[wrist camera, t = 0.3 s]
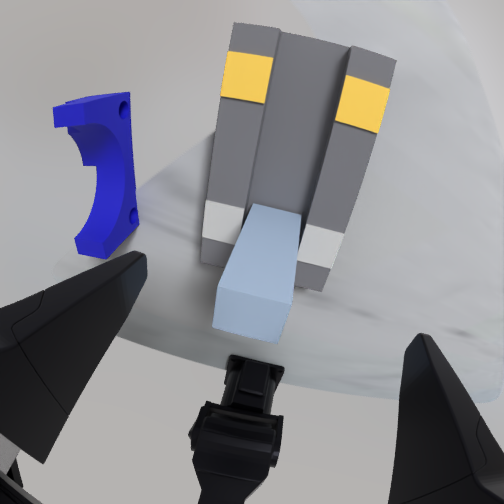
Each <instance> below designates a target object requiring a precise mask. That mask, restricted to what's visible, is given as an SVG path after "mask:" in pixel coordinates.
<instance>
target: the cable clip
mask: <svg viewBox="0 0 504 504" xmlns="http://www.w3.org/2000/svg"><path fill="white" fill-rule="evenodd" d="M53 116H54V127H55V128H57V127H67V128H68V134H69V135H70V136H71V137H72V138H73V139H74V141H75V142H76V144H77V146H78V148H79V151H80V153H81V156H82V161H83V166H96V170H97V186H96V193H95V199H94V203H93V207H92V210H91V213H90V215H89V218H88V220H87V222H86V224H85V225H84V227H83V228H82V230H81V231H80V233H79V234H78V235H77V236H76V237H75V238H74V239H75V243H76V247H77V251H78V254H82V255H86V256H91V257H96V258H102V259H107V258H108V257H109V256H110V255H111V254H112V253H113V252H114V251H115V250H116V248H117V247H118V246H119V245H120V244H121V243H122V242H123V241H124V240H125V239H126V238H127V237H128V236H129V235H130V234H131V233H132V232H133V230H134V229H135V228H136V227H137V226H138V225H139V218H138V210H137V202H136V193H135V191H136V181H135V170H134V159H133V144H132V128H131V101H130V92H122V93H112V94H103V95H95V96H88V97H84V98H80V99H76V100H72V101H68V102H66V104H63V105H60V106H56V107H53Z"/></svg>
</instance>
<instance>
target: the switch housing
mask: <svg viewBox="0 0 504 504" xmlns="http://www.w3.org/2000/svg"><path fill="white" fill-rule="evenodd" d="M395 64H396V60H394V59H392V58H389V57H386V56H383V55H381V54H378V53H375V52H372V51H369V50H365V49H362V48H359V47H356V46H351V47H350V48H349V47H346V46H342V45H339V44H335V43H331V42H327V41H323V40H319V39H315V38H310V37H305V36H301V35H296V34H291V33H285V32H282V31H281V30H280V29H279V28H273V27H267V26H260V25H252V24H244V23H234V25H233V30H232V35H231V40H230V46H229V51H228V53H227V58H226V64H225V69H224V75H223V81H222V87H221V93H220V96H221V98H220V105H219V111H218V118H217V125H216V131H215V138H214V146H213V153H212V160H211V168H210V176H209V184H208V192H207V200H206V203H205V212H204V221H203V231H202V237H203V238H202V248H201V258H200V262H203V263H207V264H211V265H215V266H219V267H222V268H225V267H226V265H227V263H228V260H229V258H230V256H231V253H232V251H233V249H234V247H235V244H236V242H237V240H238V237H239V235H240V233H241V230H242V228H243V226H244V223H245V221H246V219H247V217H248V214H249V212H250V210H251V207H252V205H253V203H254V204H259V205H263V206H267V207H271V208H275V209H279V210H283V211H287V212H291V213H295V214H299V215H301V224H300V235H299V245H298V254H297V264H296V273H295V282H294V285H295V286H299V287H303V288H307V289H311V290H315V291H320V292H322V290H323V287H324V285H325V282H326V280H327V277H328V275H329V272H330V270H331V269H332V266H333V264H334V261H335V259H336V256H337V253H338V251H339V248H340V245H341V243H342V240H343V237H344V233H345V230H346V227H347V224H348V222H349V219H350V216H351V213H352V210H353V208H354V205H355V202H356V199H357V196H358V193H359V190H360V187H361V184H362V181H363V178H364V175H365V172H366V168H367V165H368V162H369V159H370V156H371V153H372V149H373V146H374V143H375V139H376V136H377V133H378V132H379V128H380V125H381V121H382V118H383V114H384V111H385V107H386V103H387V99H388V96H389V92H390V85H391V81H392V77H393V73H394V68H395Z"/></svg>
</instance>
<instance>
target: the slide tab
mask: <svg viewBox="0 0 504 504" xmlns="http://www.w3.org/2000/svg"><path fill="white" fill-rule="evenodd" d="M300 224H301V215H299V214H295V213H291V212H287V211H283V210H279V209H275V208H271V207H267V206H263V205H259V204H254V203H253V205H252V207H251V210H250V212H249V214H248V217H247V219H246V221H245V223H244V226H243V228H242V230H241V233H240V235H239V237H238V240H237V242H236V244H235V247H234V249H233V251H232V253H231V256H230V258H229V260H228V263H227V265H226V267H225V270H224V272H223V275H222V277H221V279H220V282H219V284H218V287H217V294H216V301H215V309H214V317H213V324H212V328H215V329H219V330H223V331H227V332H230V333H234V334H238V335H242V336H246V337H250V338H254V339H258V340H262V341H266V342H270V343H275V344H278V341H279V338H280V336H281V333H282V330H283V328H284V325H285V322H286V319H287V317H288V314H289V311H290V308H291V305H292V299H293V290H294V282H295V273H296V264H297V254H298V245H299V235H300Z"/></svg>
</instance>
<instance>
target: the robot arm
mask: <svg viewBox="0 0 504 504" xmlns="http://www.w3.org/2000/svg"><path fill="white" fill-rule="evenodd" d="M146 279H147V258H146V255H145V254H144V253H141V252H138V251H132V252H129V253H127V254H124V255H122V256H120V257H117V258H115V259H113V260H110V261H108V262H106V263H103V264H101V265H99V266H96V267H94V268H92V269H89V270H87V271H85V272H82V273H80V274H78V275H76V276H73V277H71V278H69V279H67V280H64V281H62V282H60V283H58V284H56V285H53V286H51V287H49V288H47V289H45V291H44V290H42V291H40V292H38V293H36V294H34V295H31V296H29V297H27V298H25V299H23V300H20V301H17V302H15V303H13V304H10V305H7V306H5V307H2V308H0V504H42V503H41V502H40V501H38V500H37V499H36V498H34V497H33V496H32V495H30V494H29V493H28V492H26V491H25V490H24V489H23V483H22V480H21V476H20V472H19V468H18V464H17V460H16V456H17V455H18V453H19V451H20V450H23V451H24V452H26V453H27V454H28V455H30V456H31V457H33V458H34V459H36V460H37V461H39V462H40V463H42V464H44V463H45V461H46V459H47V457H48V455H49V453H50V451H51V449H52V447H53V445H54V443H55V441H56V439H57V437H58V436H59V433H60V431H61V430H62V428H63V426H64V424H65V422H66V421H67V419H68V417H69V416H68V415H70V413H71V411H72V409H73V407H74V406H75V404H76V402H77V400H78V398H79V397H80V395H81V393H82V391H83V390H84V388H85V386H86V384H87V383H88V381H89V379H90V378H91V376H92V374H93V372H94V371H95V369H96V367H97V366H98V364H99V362H100V360H101V359H102V357H103V356H104V354H105V352H106V351H107V349H108V347H109V346H110V344H111V343H112V341H113V339H114V337H115V336H116V335H117V333H118V331H119V330H120V328H121V327H122V325H123V323H124V322H125V320H126V318H127V317H128V315H129V313H130V311H131V309H132V307H133V305H134V303H135V301H136V299H137V297H138V295H139V293H140V291H141V289H142V287H143V285H144V283H145V281H146ZM284 370H285V368H284V367H282V366H278V365H273V364H269V363H264V362H260V361H256V360H252V359H248V358H244V357H240V356H236V355H231V356H230V358H229V362H228V367H227V372H226V377H225V381H224V384H225V385H226V387H225V391H224V394H223V397H222V401H221V404H220V405H219V404H215V403H211V402H209V401H206V403H205V406H203V407H201V409H200V412H199V415H198V417H197V420H196V422H195V423H194V424H193V426H192V428H191V429H190V431H189V434H188V436H189V438H190V439H191V450H192V451H194V455H193V459H192V462H193V465H194V468H195V471H196V475H197V478H198V481H199V484H200V486H201V489H202V490H201V495H200V498H199V501H198V504H244V502H245V500H246V499H247V498H248V497H249V496H250V495H252V494H253V493H254V492H255V491H256V490H257V489H258V488H259V487H260V485H262V483H263V482H264V480H265V479H266V478H267V476H268V472H269V468H270V467H274V468H275V466H276V464H277V460H278V456H279V452H280V446H281V439H282V428H283V416H282V415H279V416H276V415H270V413H271V407H272V401H273V396H274V393H275V391H276V389H277V386H278V384H279V382H280V380H281V378H282V376H283V374H284ZM397 429H398V430H397V440H396V450H395V459H394V467H393V475H392V481H391V488H390V494H389V500H388V504H504V453H503V451H502V449H501V448H500V446H499V445H498V443H497V441H496V440H495V438H494V437H493V435H492V434H491V432H490V430H489V428H488V426H487V425H486V423H485V421H484V419H483V418H482V416H480V413H479V411H478V409H477V407H476V406H475V404H474V402H473V401H472V399H471V397H470V396H469V394H468V392H467V391H466V389H465V387H464V386H463V384H462V383H461V381H460V379H459V378H458V376H457V375H456V373H455V372H454V370H453V368H452V367H451V365H450V364H449V362H448V361H447V359H446V358H445V356H444V355H443V353H442V352H441V350H440V349H439V347H438V346H437V344H436V343H435V341H434V340H433V338H432V337H431V336H430V335H428V334H424V333H419V334H417V335H416V337H415V338H414V339H413V341H412V342H411V343H410V344H409V346H408V347H407V349H406V351H405V354H404V363H403V371H402V379H401V387H400V395H399V414H398V428H397Z"/></svg>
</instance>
